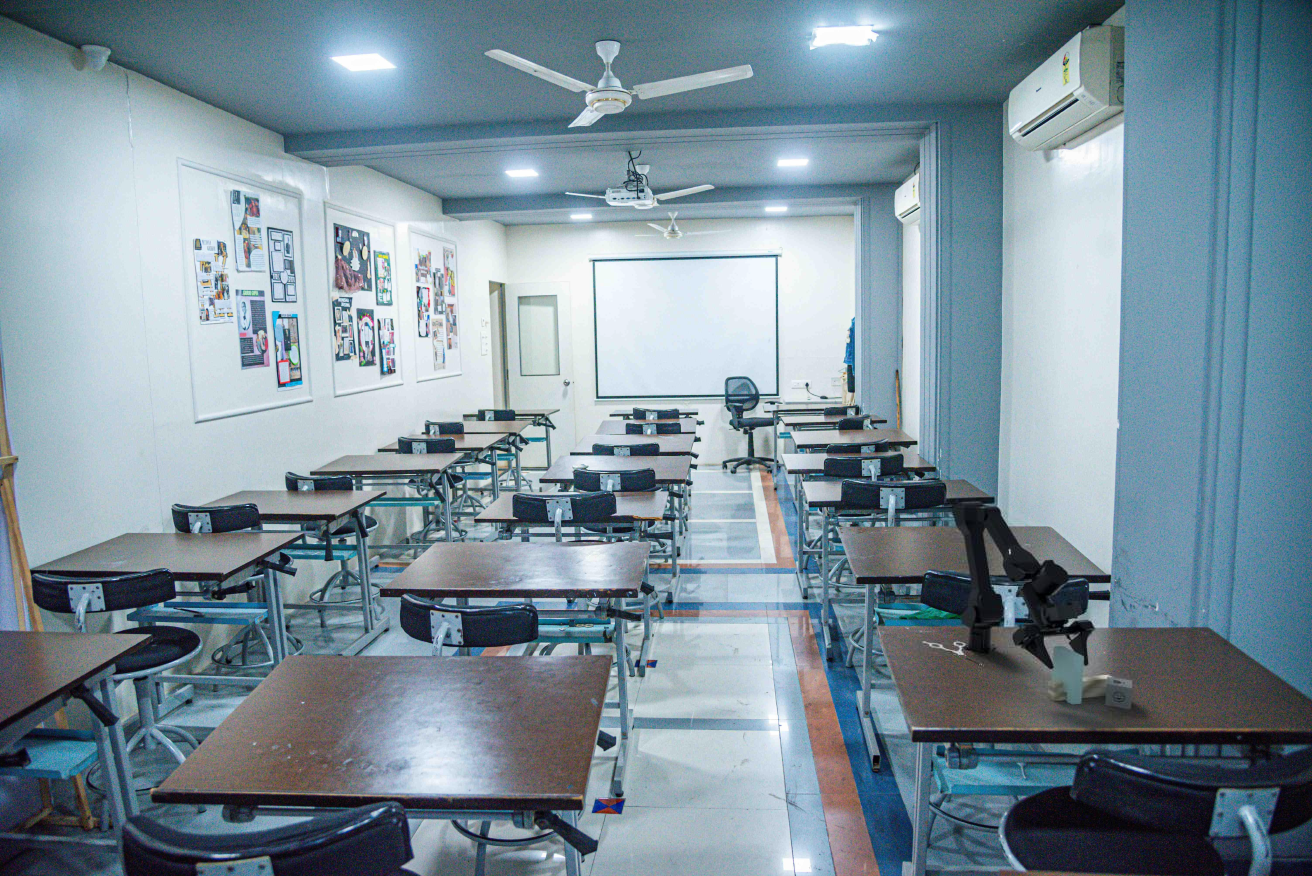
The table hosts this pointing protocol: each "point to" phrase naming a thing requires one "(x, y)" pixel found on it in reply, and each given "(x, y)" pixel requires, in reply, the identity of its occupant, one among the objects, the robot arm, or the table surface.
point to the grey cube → (1119, 693)
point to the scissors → (948, 649)
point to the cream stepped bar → (1089, 688)
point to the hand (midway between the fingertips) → (1069, 666)
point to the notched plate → (1068, 672)
